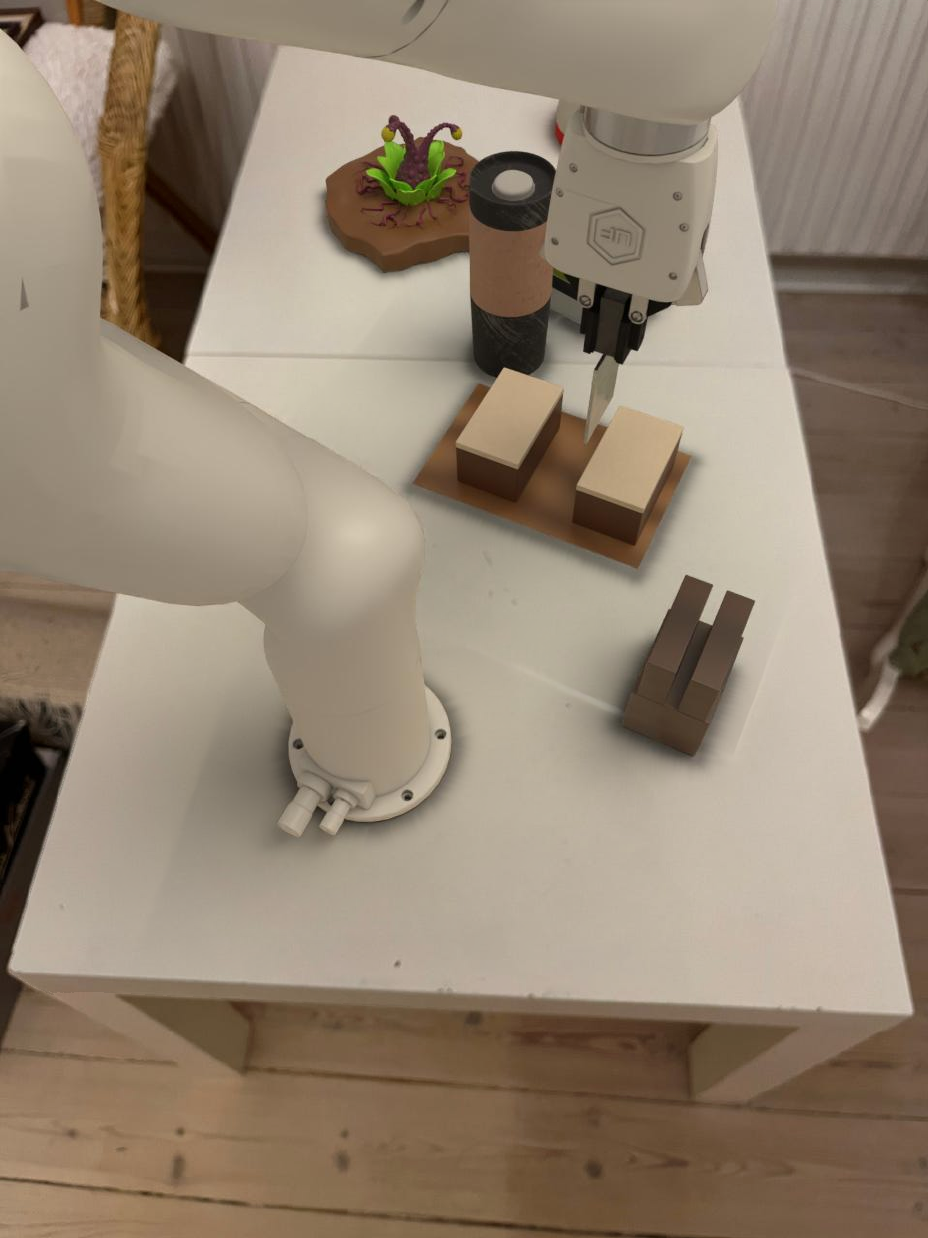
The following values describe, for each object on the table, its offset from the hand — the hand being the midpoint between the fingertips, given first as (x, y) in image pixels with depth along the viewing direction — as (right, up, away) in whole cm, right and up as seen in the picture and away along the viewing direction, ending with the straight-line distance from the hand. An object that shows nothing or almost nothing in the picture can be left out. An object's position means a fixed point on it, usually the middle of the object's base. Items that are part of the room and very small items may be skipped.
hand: (610, 345), depth 69 cm
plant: (-17, +26, +37) cm, 48 cm away
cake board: (-3, -7, +16) cm, 18 cm away
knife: (0, -4, +7) cm, 8 cm away
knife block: (+6, -27, +4) cm, 28 cm away
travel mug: (-7, +6, +24) cm, 26 cm away
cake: (-7, -5, +16) cm, 19 cm away
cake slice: (+3, -9, +14) cm, 17 cm away
